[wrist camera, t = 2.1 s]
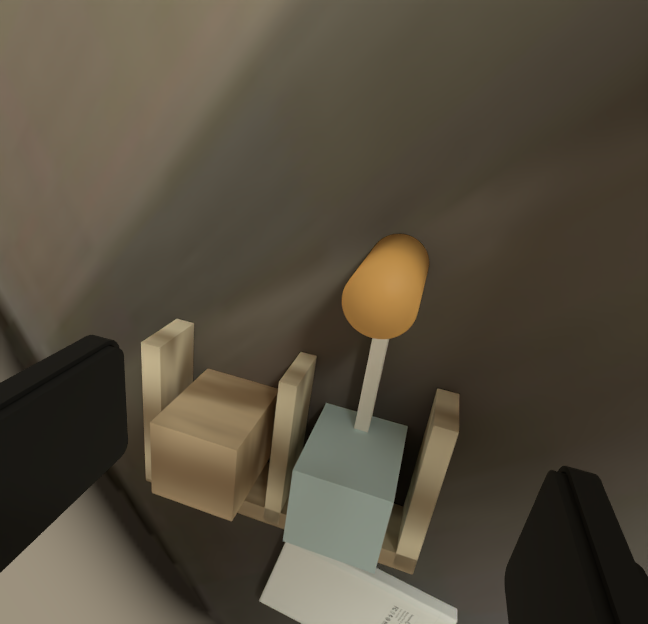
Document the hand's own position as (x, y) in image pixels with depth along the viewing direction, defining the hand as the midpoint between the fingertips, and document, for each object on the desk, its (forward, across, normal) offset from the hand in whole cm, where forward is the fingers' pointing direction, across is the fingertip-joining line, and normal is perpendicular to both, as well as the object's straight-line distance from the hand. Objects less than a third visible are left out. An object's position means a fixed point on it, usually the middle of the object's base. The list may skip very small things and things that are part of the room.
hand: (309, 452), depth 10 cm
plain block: (+15, +8, +12) cm, 21 cm away
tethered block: (+15, 0, +6) cm, 16 cm away
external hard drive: (+16, -2, +25) cm, 30 cm away
